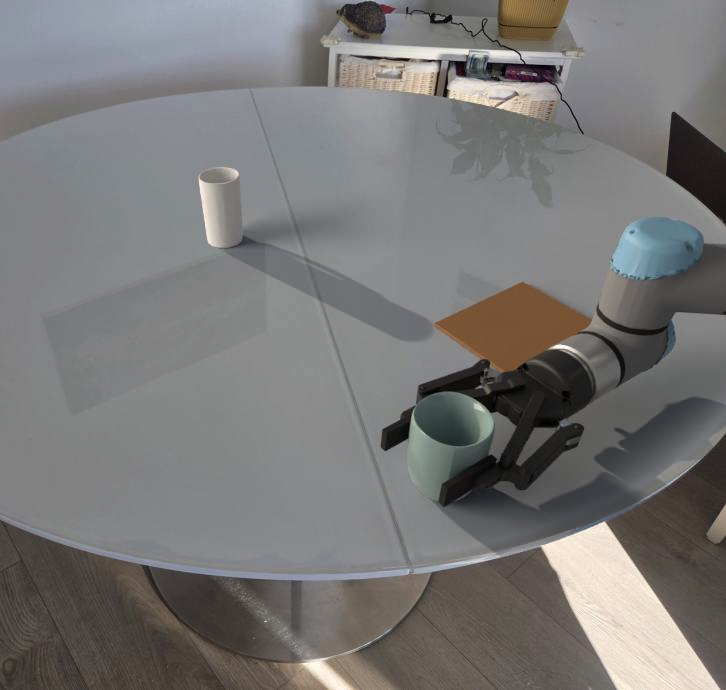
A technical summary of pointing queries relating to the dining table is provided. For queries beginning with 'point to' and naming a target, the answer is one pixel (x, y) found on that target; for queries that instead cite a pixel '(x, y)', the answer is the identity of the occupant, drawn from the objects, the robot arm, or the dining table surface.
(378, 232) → the dining table surface
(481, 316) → the cork mat
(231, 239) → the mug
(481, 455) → the cup
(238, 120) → the dining table surface
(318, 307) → the dining table surface
